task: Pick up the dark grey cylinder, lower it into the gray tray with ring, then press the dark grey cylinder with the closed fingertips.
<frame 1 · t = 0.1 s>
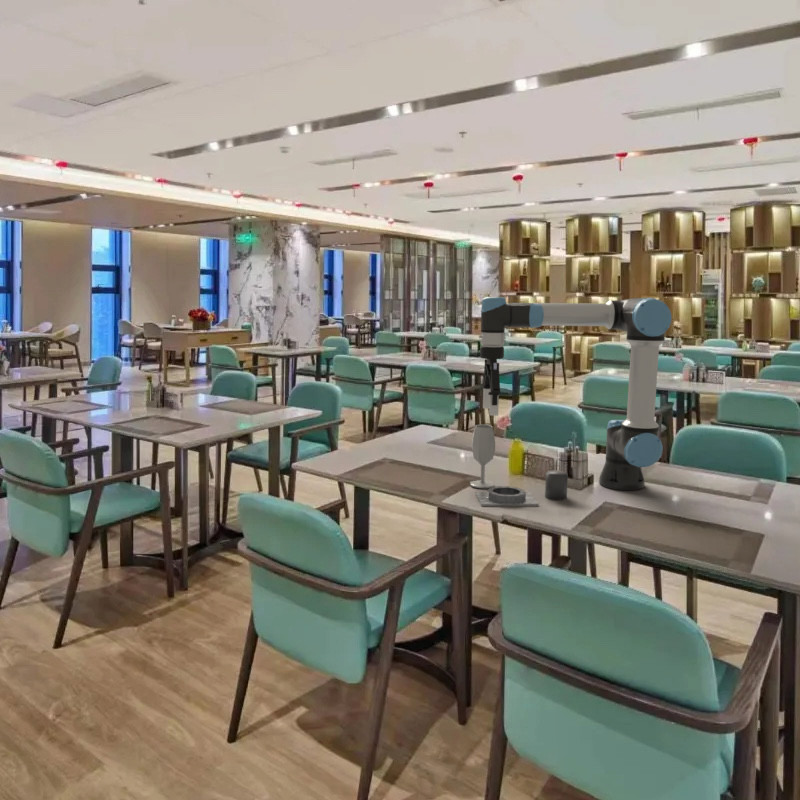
hand: (490, 411, 238), 28 cm above the table, fingers open, 13 cm apart
wineglass: (482, 486, 254), on the table
gray tray with ring: (506, 500, 237), on the table
dark grey cylinder: (555, 497, 241), on the table
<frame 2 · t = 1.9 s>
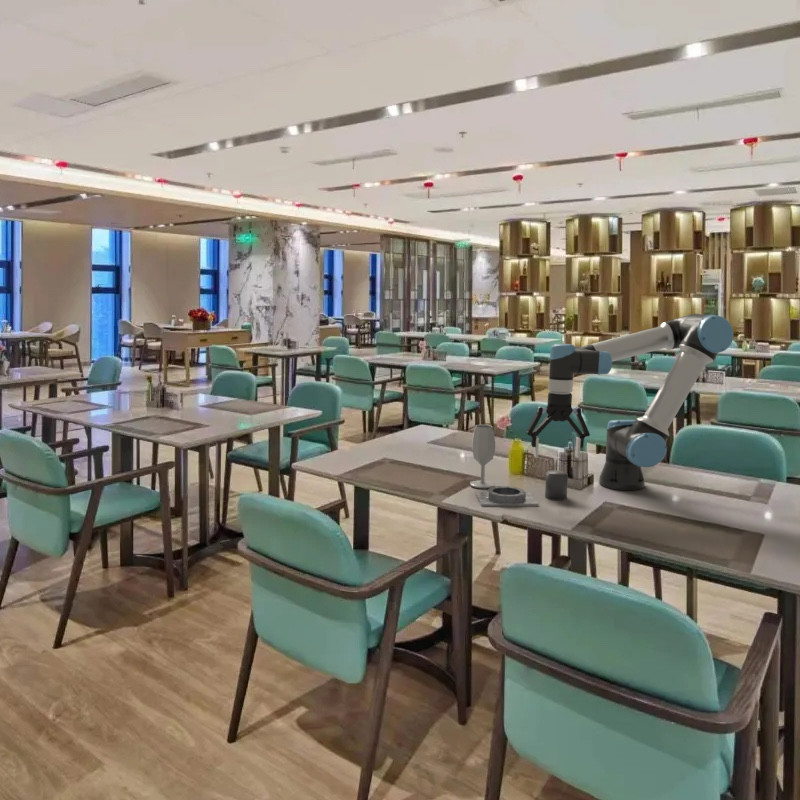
hand: (556, 457, 239), 13 cm above the table, fingers open, 13 cm apart
nothing on the table moved.
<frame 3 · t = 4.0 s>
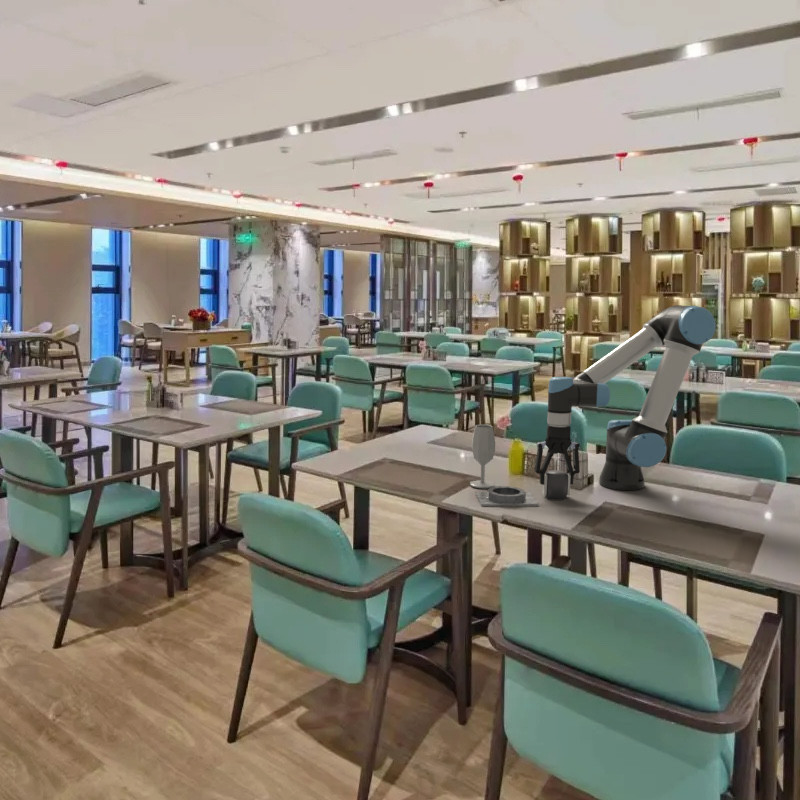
hand: (555, 493, 241), 1 cm above the table, fingers closed on dark grey cylinder, 7 cm apart
dark grey cylinder: (555, 497, 241), on the table, touching gripper
everything else where it was.
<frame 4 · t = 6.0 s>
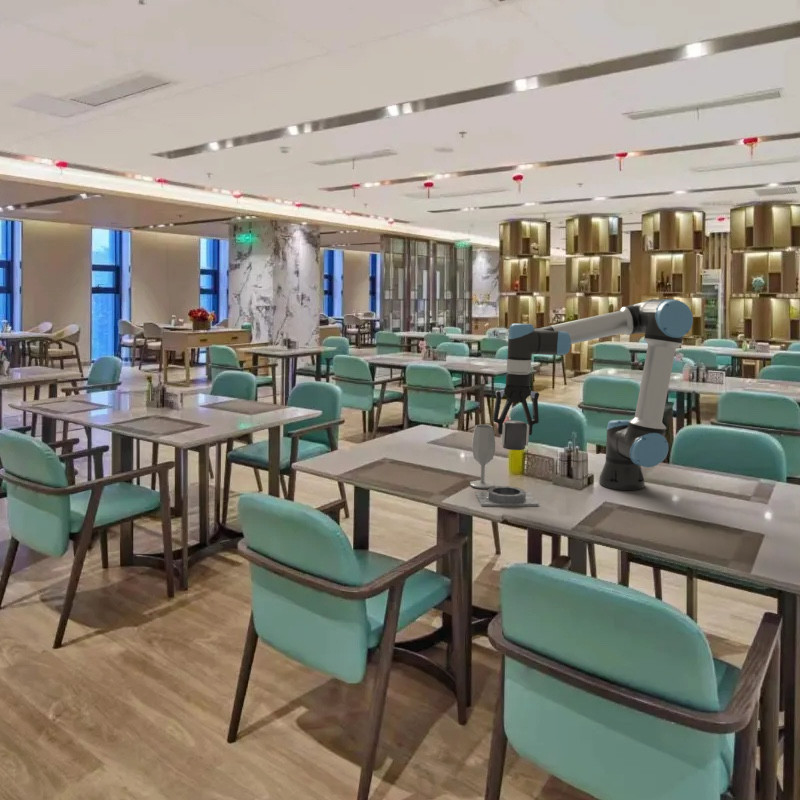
hand: (514, 444, 235), 18 cm above the table, fingers closed on dark grey cylinder, 7 cm apart
dark grey cylinder: (514, 447, 235), point 17 cm above the table, touching gripper
everything else where it was.
when the fingers open (4 cm above the table, at t = 8.3 s): dark grey cylinder drops 2 cm, resting on gray tray with ring.
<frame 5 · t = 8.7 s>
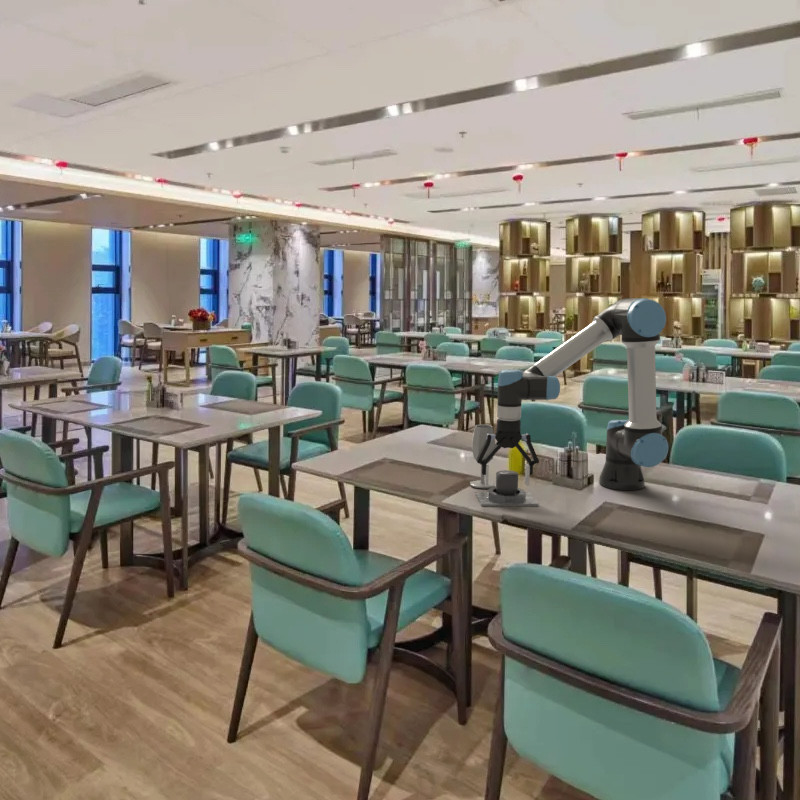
hand: (506, 484, 236), 5 cm above the table, fingers open, 12 cm apart
dark grey cylinder: (506, 497, 237), point 1 cm above the table, touching gray tray with ring
everything else where it was.
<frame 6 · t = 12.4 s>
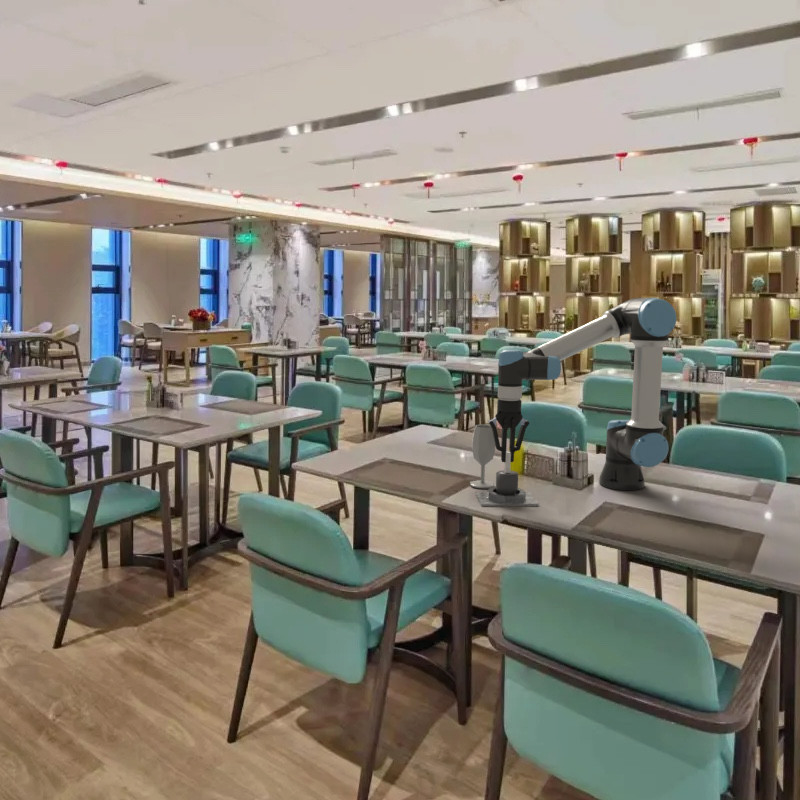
hand: (507, 471, 235), 9 cm above the table, fingers closed
dark grey cylinder: (506, 497, 237), point 1 cm above the table, touching gray tray with ring, gripper
everything else where it was.
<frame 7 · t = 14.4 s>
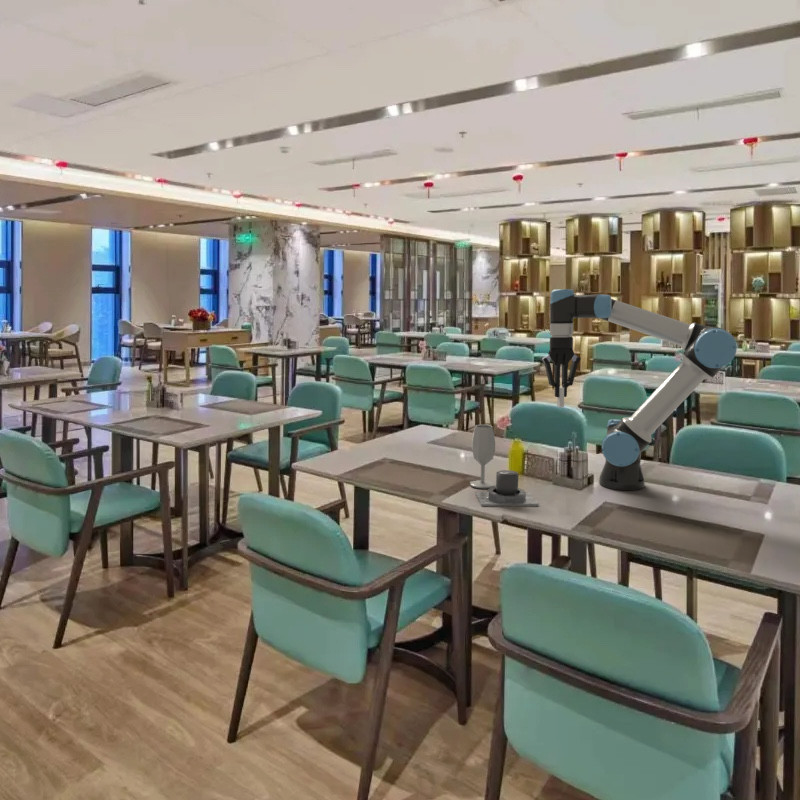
hand: (560, 406, 248), 28 cm above the table, fingers closed
dark grey cylinder: (506, 497, 237), point 1 cm above the table, touching gray tray with ring
everything else where it was.
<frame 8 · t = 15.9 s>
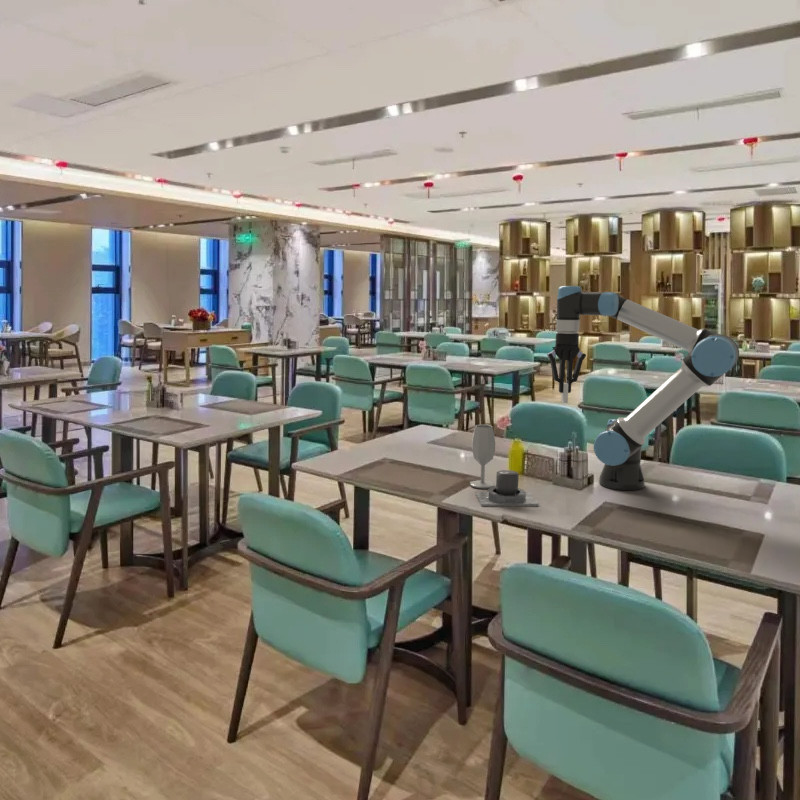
hand: (564, 402, 250), 29 cm above the table, fingers closed
nothing on the table moved.
at the end: dark grey cylinder 0.1 cm off-centre on the gray tray with ring, point 0.8 cm above the gray tray with ring's base; dark grey cylinder tilted 1°; the gripper is holding nothing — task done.
